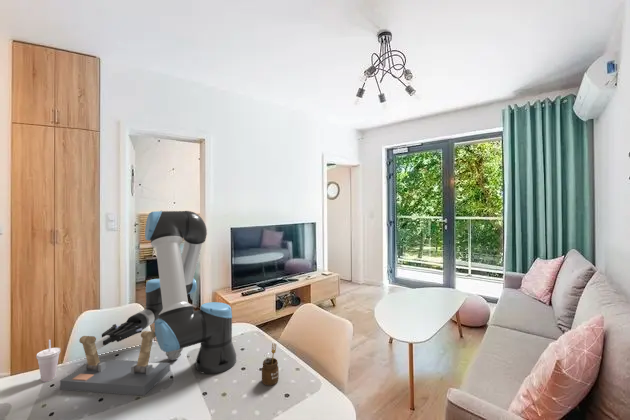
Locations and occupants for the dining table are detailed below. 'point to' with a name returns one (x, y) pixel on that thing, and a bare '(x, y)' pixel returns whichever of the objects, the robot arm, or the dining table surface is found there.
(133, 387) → the switch unit
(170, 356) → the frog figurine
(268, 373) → the utensil holder
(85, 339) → the lever
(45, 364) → the smoothie
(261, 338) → the dining table surface
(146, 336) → the lever
